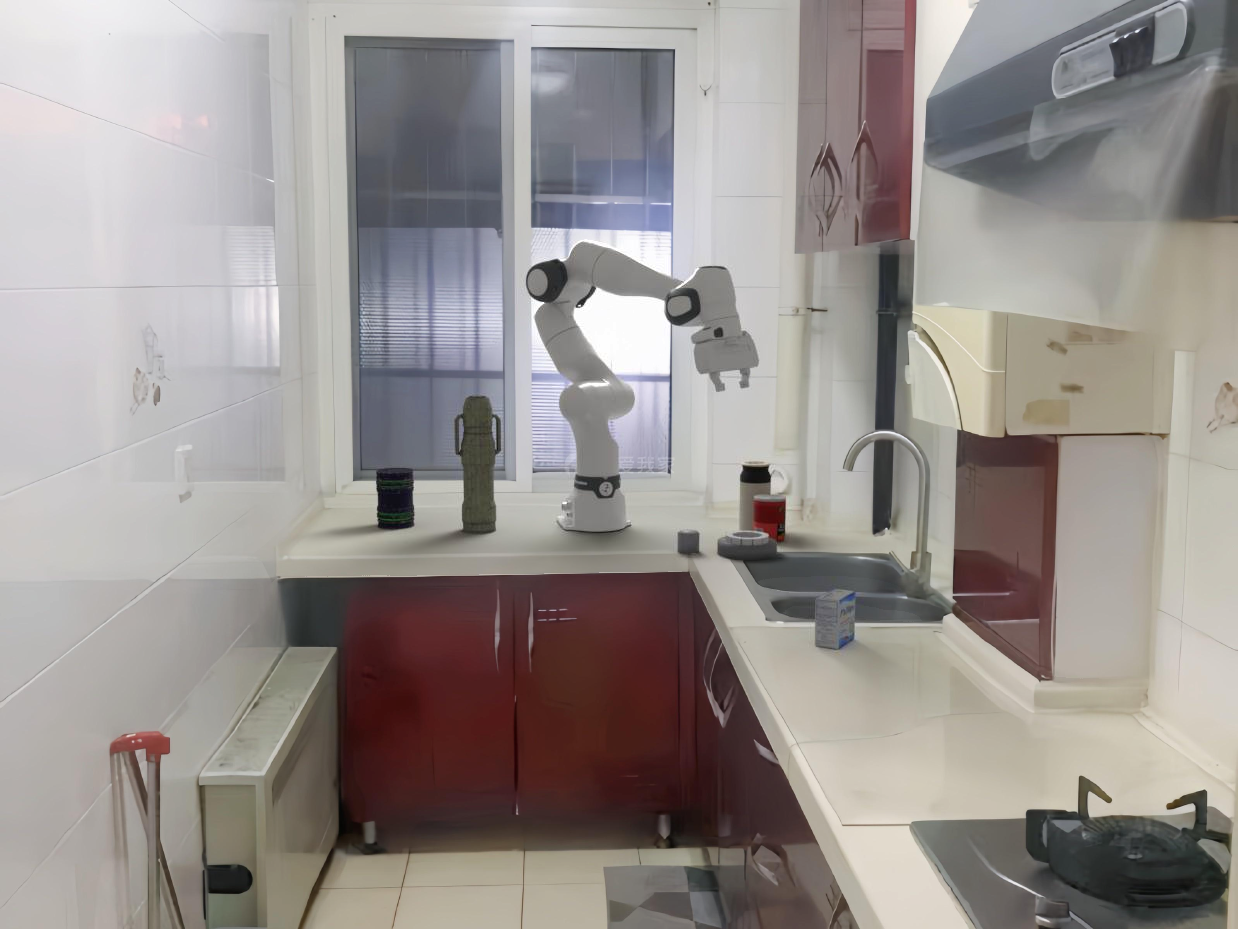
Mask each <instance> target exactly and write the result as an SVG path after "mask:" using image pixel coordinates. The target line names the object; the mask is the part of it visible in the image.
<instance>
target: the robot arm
mask: <svg viewBox="0 0 1238 929" xmlns="http://www.w3.org/2000/svg"><path fill="white" fill-rule="evenodd" d="M525 289H526V290H527V293H528V295H529V296H530V297H531V298H532V299H533V300H535V301H537V302H540V304H539V305H538V306H537V308H536V309H535V311H534V316H533V320H534V322H535V326H536V329H537V332H538V335H539V337H540V339H541V341H542V344H543V346H544V348H545V350H546V352H547V353H548V355H549V357H550V359H551V361H552V362H553V364H554V366H555V368H556V370H557V372H558V373H559V374H560V375H561V376H562V377H564V378H566V379H567V380H568V381H570V382H571V383H572V384H570V385H568V386H566V387H565V388H564V389H563V390H562V391H561V392H560V395H559V399H558V406H559V407H558V409H559V411H560V413H561V415H562V417H563V418H564V419H565V420H566V421H567V422H568V423H569V425H570V427H571V428H570V429H571V431H572V434H573V437H574V440H575V448H576V449H575V450H576V452H575V453H576V474H575V476H574V481H573V482H574V483H573V487H574V489H573V490H572V491H571V493H570V494H569V495H568V496H567V498H565V501H563V502H561V511H563V512H564V514H563V515H558V516H557V517H556V521H557V522H558V524H559V525H560V526H561V527H562V529H564V530H567V531H580V532H581V531H582V532H612V531H618V530H622V529H624V528H625V527H629V526H631V525H632V521H631V520H629V519H627V509H626V508H627V507H626V497H625V494H624V493H623V491H621V489H620V488H621V483H622V482H621V481H622V480H621V474H620V473H619V472H620V467H619V466H620V465H619V464H620V463H619V461H620V456H619V455H620V454H619V453H620V452H619V451H620V447H619V444H618V442H617V441H616V440H615V439H614V438H613V436H612V434H611V430H610V426H609V421H615V420H618V419H620V418H622V417H624V416H626V415H627V414H629V413H630V412H631V411H632V409H633V408H634V406H635V401H636V396H635V392H634V389H633V387H631V385H630V384H629V383H628V382H626V381H624V380H623V379H621V378H620V377H618V375H617V374H615V373H614V372H613V371H612V369H611V368H610V367H609V366H608V365H607V364H606V363H605V361H604V360H603V359H602V358H601V357H600V356H599V354H598V353H597V352H596V350H595V348H594V347H593V345H592V343H591V341H590V340H589V338H588V336H587V334H586V332H585V331H584V328H583V326H582V325H581V324H580V322H579V320H578V318H577V316H576V309H581V308H582V307H584V306H585V305H586V303H587V301H588V300H589V299H590V298H592V296H593V295H594V294H595V292H596V291H597V289H598V290H600V291H602V292H605V293H607V294H609V295H614V296H619V297H648V298H653V299H658V300H661V301H663V312H664V316H665V318H666V320H667V321H668V322H669V323H670V324H671V325H673V326H676V327H684V328H685V327H686V328H687V327H688V328H689V327H690V328H691V327H692V328H693V327H694V328H695V327H702V328H701V329H699V330H698V331H697V332H695V333H693V334H692V335H691V337H690V339H691V344H693V345H694V346H693V357H694V358H693V359H694V364H695V368H696V371H697V372H698V374H700V375H708V374H709V379H710V381H711V382H712V383H713V385H714V388H715V391H716V393H720V392H725V391H726V386H725V382H724V383H723V382H722V379H721V378H720V377H721V373H723V372H725V373H726V372H730V371H731V372H732V371H739V374H740V375H741V379H740V381H739V388H740V389H747V388H749V387H750V381H749V379H750V377H751V369H753V368H754V369H755V368H758V367H759V364H760V359H759V355H758V351H757V350H758V349H757V346H756V344H755V341H754V339H753V338H752V335H751V334H750V333H748V331H747V330H742V326H741V325H742V324H741V320H740V319H741V318H740V314H739V312H738V310H737V306H736V304H737V303H736V301H737V296H736V291H735V287H734V282H733V278H732V275H731V273H730V271H729V270H728V268H727V267H725V266H722V265H704V266H699V267H697V268H696V269H695V271H694V272H693V274H692V275H691V276H690V277H689V278H688V279H687V280H686V281H682V280H680V279H678V278H675V277H672V276H670V275H667V274H666V273H663V272H660V271H658V270H656V269H655V268H653V267H651V266H649V265H648V264H645V263H643V262H641V261H640V260H638V259H636V258H634V257H633V256H631V255H629V254H627V253H625V252H623V251H622V250H620V249H617V248H615V247H612V246H611V245H607V244H605V243H602V242H599V241H593V240H590V239H589V240H588V239H584V240H580V241H578V242H576V243H575V244H574V245H573V246H572V248H571V250H570V251H569V254H568V256H567V258H565V259H559V258H552V259H549V260H544V261H540V262H538V263H536V264H534V265H532V266H531V267H530V268H529V270H528V271H527V273H526V275H525Z"/></svg>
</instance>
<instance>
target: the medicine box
mask: <svg viewBox="0 0 1238 929" xmlns="http://www.w3.org/2000/svg"><path fill="white" fill-rule="evenodd" d="M814 604H815V606H814V607H815V609H814V610H815V611H814V612H815V614H814V618H815V621H814V645H815V646H816V647H819V648H820V647H821V648H824V649H825V648H826V649H833V650H837V651H838V650H839V651H840V649H842V648H843V647H844V646H845V645H847V644H848V643H850V642H851V641H852V640H854V639H855V632H856V631H855V629H856V628H855V627H856V625H855V624H856V623H855V622H856V619H855V617H856V591H854V590H848V589H847V590H846V589H839V588H833V589H830V590H828V591H827V592H825V593H823V594H821V595H820V596H818V597H816V598H815V602H814Z"/></svg>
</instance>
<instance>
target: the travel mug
mask: <svg viewBox="0 0 1238 929" xmlns="http://www.w3.org/2000/svg"><path fill="white" fill-rule="evenodd" d="M740 464H741V467H742V471H741V473H740V474H739V505H738V506H739V508H738V509H739V511H738V512H739V515H738V516H739V517H738V518H739V519H738V520H739V521H738V531H753V523H754V496H756V495H761V494H772V493H771V492H772V491H771V490H772V489H771V486H772V484H771V483H772V475H771V473H770V471H769V469H770V465H771V462H769V461H761V460H748V461H747V460H746V461H741V463H740Z"/></svg>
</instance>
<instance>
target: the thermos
mask: <svg viewBox="0 0 1238 929" xmlns="http://www.w3.org/2000/svg"><path fill="white" fill-rule="evenodd" d="M464 399H465V400H464V403H463V406H462V413H460V414H457V416H456V417H455V419H454V451H455V455H456V456H459V457H460V459H461V460H460V461H461V462H460V463H461V465H462V469H463V470H462V475H463V476H462V478H463V502H462V504H461V522H462V532H464V533H466V534H467V533H468V534H490V533H494V532H496V530H497V528H496V522H497V505H496V502H495V501H496V500H495V485H494V484H495V483H494V482H495V481H494V480H495V476H494V473H495V472H494V468H495V464H496V456H497V455H499V454H500V453H501V451H502V425H501V424H502V420H501V418H500V417H499V416H498V414H496V413H495V414H494V413H493V406H492V402H491V399H490V397H488V396H487V395H468V397H465V398H464ZM493 418H494V419H495V430H496V431H495V434H496V435H495V436H496V438H495V437H494V436H493V435H494V434H493V433H494V432H493V428H492V427H493ZM461 419H462V427H463V432H462V435H463V436H462V440H461V443H460V420H461ZM494 438H495V439H494ZM495 440H496V441H495Z"/></svg>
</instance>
